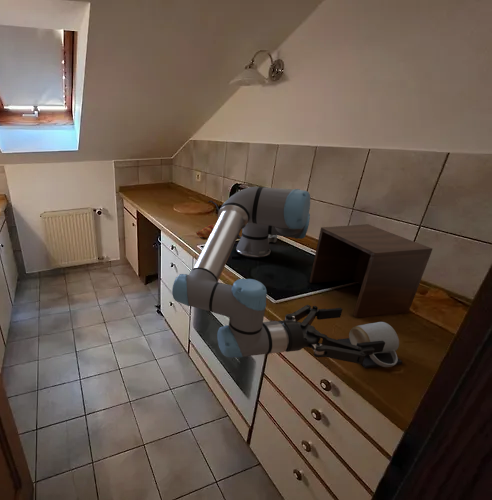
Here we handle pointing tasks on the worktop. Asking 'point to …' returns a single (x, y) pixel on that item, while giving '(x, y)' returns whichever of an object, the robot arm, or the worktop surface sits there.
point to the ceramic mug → (377, 339)
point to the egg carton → (272, 238)
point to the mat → (380, 356)
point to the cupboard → (371, 266)
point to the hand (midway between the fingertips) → (359, 327)
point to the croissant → (206, 231)
